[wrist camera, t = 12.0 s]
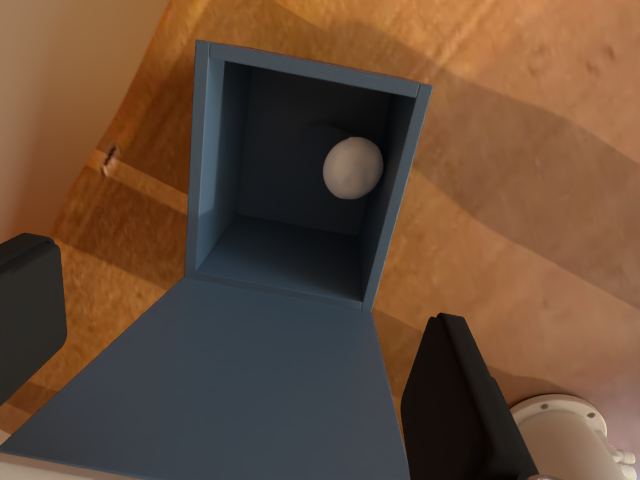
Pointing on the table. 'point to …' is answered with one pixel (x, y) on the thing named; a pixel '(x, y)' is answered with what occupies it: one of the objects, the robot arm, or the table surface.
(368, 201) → the case
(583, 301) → the table surface
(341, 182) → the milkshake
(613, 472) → the robot arm
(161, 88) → the table surface
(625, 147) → the table surface
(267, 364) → the case lid
